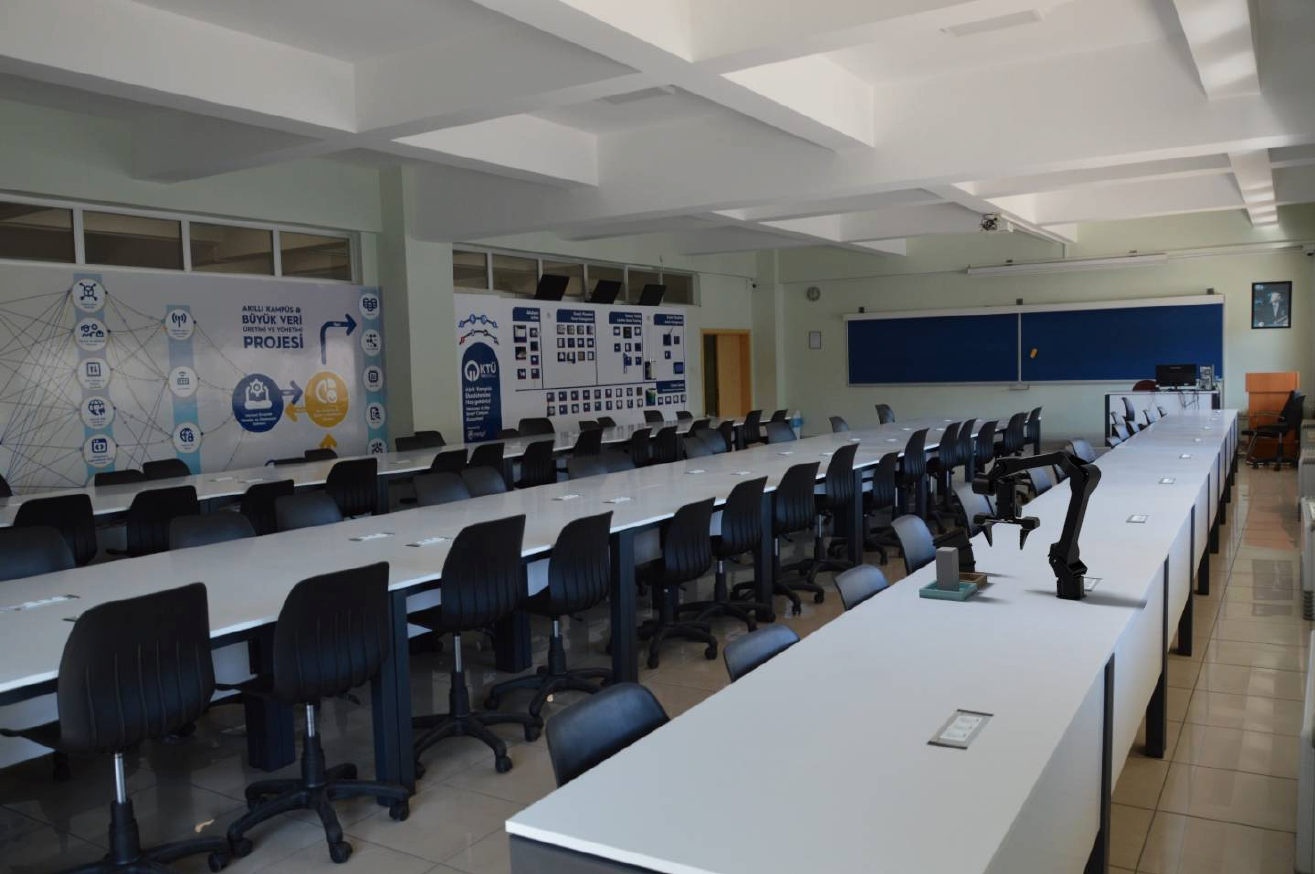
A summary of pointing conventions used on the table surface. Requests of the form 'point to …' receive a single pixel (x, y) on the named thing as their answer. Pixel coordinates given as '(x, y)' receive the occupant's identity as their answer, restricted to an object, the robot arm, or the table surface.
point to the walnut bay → (973, 578)
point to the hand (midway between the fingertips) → (1006, 548)
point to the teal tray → (961, 595)
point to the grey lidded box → (947, 569)
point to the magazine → (963, 545)
